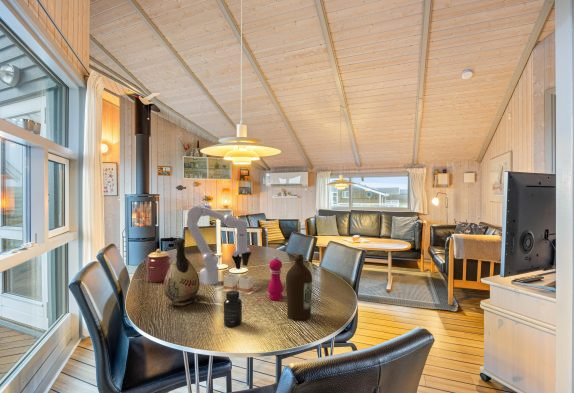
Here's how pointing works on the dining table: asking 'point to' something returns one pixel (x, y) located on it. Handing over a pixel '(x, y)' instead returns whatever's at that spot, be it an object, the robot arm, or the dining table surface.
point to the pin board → (237, 289)
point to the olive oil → (299, 290)
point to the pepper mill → (275, 280)
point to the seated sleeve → (230, 281)
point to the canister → (157, 266)
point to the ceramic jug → (181, 278)
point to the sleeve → (245, 283)
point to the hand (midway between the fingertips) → (241, 267)
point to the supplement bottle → (232, 309)
